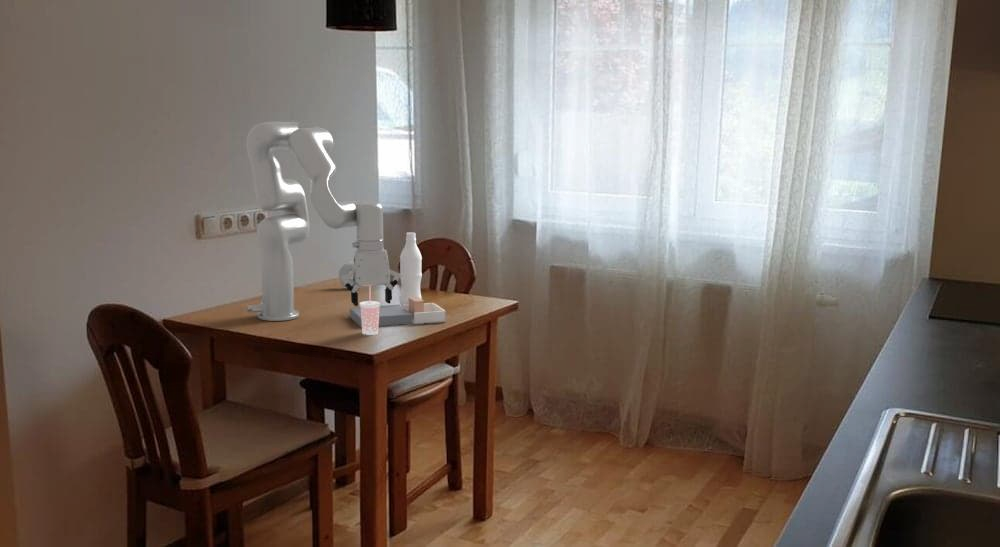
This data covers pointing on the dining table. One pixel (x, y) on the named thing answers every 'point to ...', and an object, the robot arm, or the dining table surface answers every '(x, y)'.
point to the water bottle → (410, 270)
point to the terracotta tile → (415, 305)
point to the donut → (346, 272)
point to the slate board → (385, 315)
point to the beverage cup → (370, 316)
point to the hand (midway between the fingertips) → (371, 303)
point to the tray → (429, 314)
